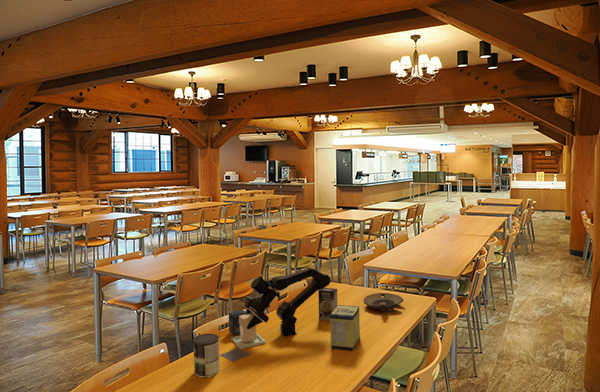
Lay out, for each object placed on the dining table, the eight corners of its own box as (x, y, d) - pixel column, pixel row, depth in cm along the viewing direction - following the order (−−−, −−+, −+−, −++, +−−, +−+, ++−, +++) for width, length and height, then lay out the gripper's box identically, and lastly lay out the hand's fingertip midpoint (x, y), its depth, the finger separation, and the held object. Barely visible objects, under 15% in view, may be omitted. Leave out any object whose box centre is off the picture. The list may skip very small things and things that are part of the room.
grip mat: (237, 348, 200) (237, 348, 200) (251, 354, 193) (251, 354, 193) (219, 356, 193) (219, 355, 193) (233, 362, 186) (233, 361, 186)
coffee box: (318, 319, 235) (317, 290, 234) (322, 315, 241) (321, 286, 240) (334, 321, 232) (333, 291, 231) (338, 317, 238) (337, 288, 237)
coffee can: (192, 379, 172) (190, 344, 171) (196, 367, 182) (194, 334, 181) (219, 377, 173) (217, 342, 172) (221, 365, 183) (220, 332, 182)
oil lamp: (408, 304, 257) (408, 291, 257) (390, 319, 232) (390, 305, 231) (373, 299, 269) (373, 286, 269) (352, 313, 244) (352, 300, 243)
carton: (252, 335, 211) (251, 313, 211) (257, 339, 206) (256, 316, 205) (239, 338, 208) (238, 315, 208) (243, 342, 203) (242, 319, 202)
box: (233, 336, 215) (232, 315, 215) (229, 332, 220) (228, 312, 220) (248, 332, 220) (247, 311, 219) (243, 329, 224) (242, 309, 224)
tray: (255, 335, 215) (255, 332, 215) (265, 344, 204) (265, 340, 204) (231, 340, 210) (231, 337, 210) (239, 349, 199) (239, 346, 199)
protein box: (360, 338, 208) (359, 305, 207) (353, 351, 193) (352, 316, 192) (338, 336, 212) (338, 304, 211) (330, 348, 197) (329, 314, 196)
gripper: (247, 285, 216) (226, 311, 212) (261, 294, 199) (239, 323, 195) (263, 298, 220) (243, 324, 216) (277, 308, 203) (256, 336, 199)
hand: (245, 326), depth 206 cm, fingers closed on carton, 6 cm apart
